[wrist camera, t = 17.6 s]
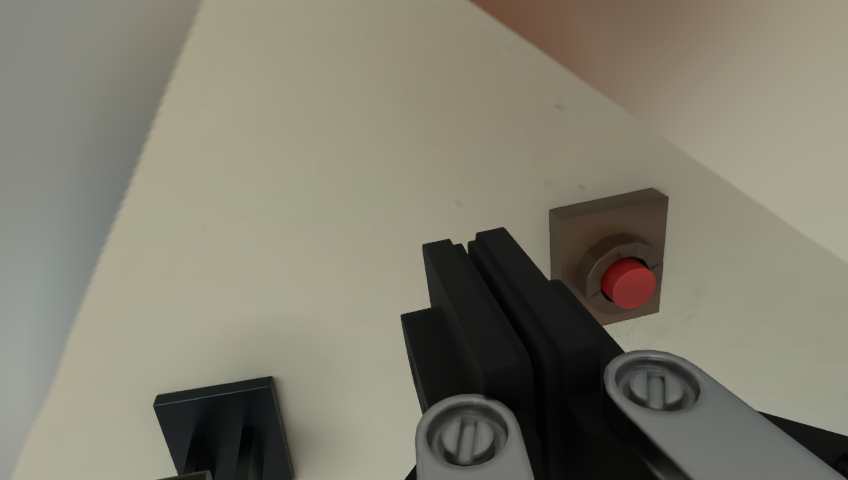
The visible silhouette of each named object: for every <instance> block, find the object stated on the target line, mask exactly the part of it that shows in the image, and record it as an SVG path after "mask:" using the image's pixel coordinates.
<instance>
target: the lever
mask: <svg viewBox="0 0 848 480" xmlns="http://www.w3.org/2000/svg"><path fill="white" fill-rule="evenodd" d="M158 480H212V476H211V473H210V471H209V470H205V471H200V472H195V473H190V474H184V475H179V476H174V477H169V478H163V479H158Z"/></svg>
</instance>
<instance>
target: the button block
mask: <svg viewBox="0 0 848 480" xmlns="http://www.w3.org/2000/svg"><path fill="white" fill-rule="evenodd" d="M667 210H668V197H667V196H666V195H664V194H662V193H660V192H659V191H657V190H655V189H653V188H650V189H645V190H640V191H636V192H631V193H626V194H622V195H617V196H612V197H608V198H603V199H598V200H593V201H589V202H584V203H579V204H575V205H570V206H565V207H561V208H556V209H551V210H549V221H550V258H551V280H554V279H560V280H561V281H562V282H563V283H564V284H565V285H566V286H567V287H568V288H569V289H570V290H571V292H572V293H573V294H574V295H575V296H576V297H577V298H578V300H579V301H580V302H581V303H582V304H583V305H584V306H585V307H586V309H587V310H588V311H589V312H590V313H591V314H592V315H593V317H594V318H595V319H596V320H597V321H598V322H599V323H600V325H601V326H604V325H608V324H612V323H616V322H620V321H625V320H629V319H633V318H637V317H641V316H645V315H649V314H653V313H657V312H659V304H660V292H661V281H662V273H663V257H664V245H665V233H666V222H667ZM625 258H632V259H636V260H638V261H639V262H640V263H641V264H643V265H644V266H645V267H646V268H648V269H649V270H650V271H651V272H652V273H653V274H654V276H655V278H656V287H655V290H654V292H653V294H652V296H651V297H650V298H649V299H648V300H647V301H646V302H645V303H644V304H642V305H640V306H638V307H636V308H632V309H625V308H621V307H619V306H618V305H616V304H615V303H614V302H613V301H612V300H611V299H610V298H609V297H608V295H607V294H606V293H605V292H604V291H603V288H602V279H603V276H604V274H605V272H606V270H607V269H608V268H609V267H610V266H611V265H612V264H613V263H615V262H617V261H619V260H621V259H625Z"/></svg>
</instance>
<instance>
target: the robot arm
mask: <svg viewBox="0 0 848 480" xmlns="http://www.w3.org/2000/svg"><path fill="white" fill-rule="evenodd" d="M422 249H423V257H424V264H425V270H426V277H427V283H428V290H429V296H430V303H431V308H427V309H423V310H419V311H414V312H410V313H406V314H401V322H402V328H403V333H404V339H405V344H406V349H407V354H408V359H409V363H410V368H411V372H412V376H413V381H414V385H415V388H416V392H417V396H418V399H419V403H420V407H421V410H422V414H423V416H422V418H421V420H420V422H419V423H418V425H417V430H416V436H415V447H416V465H415V466H414V468H413V469H412V470H411V472H410V473H409V475H408V476H407V477H406V479H405V480H848V436H845V435H841V434H838V433H834V432H830V431H827V430H823V429H820V428H816V427H813V426H809V425H806V424H802V423H798V422H795V421H791V420H788V419H784V418H781V417H777V416H773V415H770V414H766V413H763V412H759V411H756V410H754V409H753V408H752V407H751V406H749V405H748V404H747V403H745V402H744V401H743V400H741V399H740V398H739V397H737V396H736V395H735V394H733V393H732V392H731V391H729V390H728V389H727V388H725V387H724V386H723V385H721V384H720V383H719V382H717V381H716V380H715V379H713V378H712V377H711V376H709V375H708V374H707V373H705V372H704V371H703V370H701V369H700V368H699V367H697V366H696V365H694V364H693V363H691V362H689V361H688V360H686V359H684V358H682V357H679V356H677V355H674V354H671V353H668V352H662V351H656V350H635V351H631V352H627V353H625V352H624V351H623V350H622V348H621V347H620V346H619V345H618V344H617V343H616V342H615V340H614V339H613V338H612V337H611V336H610V335H609V334H608V333H607V331H606V330H605V329H604V328H603V327H602V326H601V325H600V323H599V322H598V321H597V320H596V319H595V318H594V317H593V315H592V314H591V313H590V312H589V311H588V310H587V309H586V307H585V306H584V305H583V304H582V303H581V302H580V301H579V300H578V298H577V297H576V296H575V295H574V294H573V293H572V292H571V290H570V289H569V288H568V287H567V286H566V285H565V284H564V283H563V282H562V281H561V280H560V279H554V280H549V281H548V279H547V278H546V277H545V276H544V275H543V273H542V272H541V271H540V270H539V269H538V267H537V266H536V265H535V264H534V263H533V261H532V260H531V259H530V258H529V257H528V255H527V254H526V253H525V252H524V251H523V249H522V248H521V247H520V246H519V245H518V243H517V242H516V241H515V240H514V239H513V237H512V236H511V235H510V234H509V233H508V231H507V230H506V229H505V228H504V227H501V228H497V229H492V230H487V231H483V232H478V233H476V238H475V240H474V241H469V242H468V254H467V252H466V250H465V249H464V247H463V245H462V244H461V243H460V244H455V245H453V244H452V242H451V240H450V239H445V240H441V241H436V242H431V243H427V244H423V246H422Z"/></svg>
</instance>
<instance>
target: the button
mask: <svg viewBox="0 0 848 480" xmlns="http://www.w3.org/2000/svg"><path fill="white" fill-rule="evenodd" d="M655 287H656V278H655V276H654V274H653V273H652V272H651V271H650V270H649V269H648V268H646V267H645V266H644V265H643V264H641V263H640V262H639V261H638V260H636V259H632V258H625V259H621V260H619V261H617V262H615V263H613V264H612V265H611V266H610V267H609V268H608V269H607V270H606V272H605V274H604V276H603V279H602V288H603V291H604V292H605V293H606V294H607V295H608V297H609V298H610V299H611V300H612V301H613V302H614V303H615V304H616V305H618V306H619V307H621V308H625V309H632V308H636V307H638V306H640V305H642V304H644V303H645V302H646V301H647V300H648V299H649V298H650V297H651V296H652V294H653V292H654V290H655Z"/></svg>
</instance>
